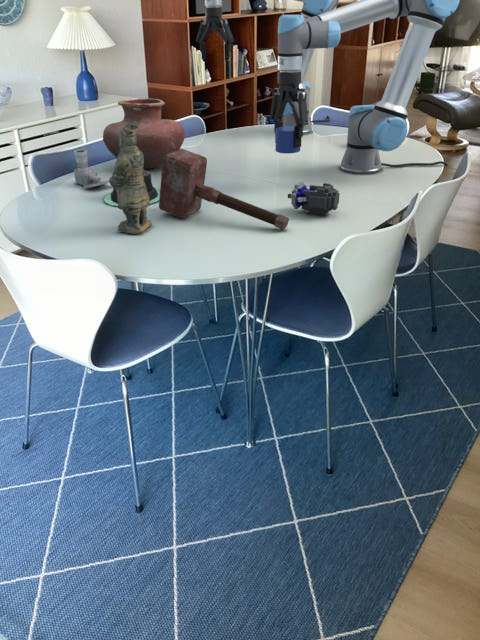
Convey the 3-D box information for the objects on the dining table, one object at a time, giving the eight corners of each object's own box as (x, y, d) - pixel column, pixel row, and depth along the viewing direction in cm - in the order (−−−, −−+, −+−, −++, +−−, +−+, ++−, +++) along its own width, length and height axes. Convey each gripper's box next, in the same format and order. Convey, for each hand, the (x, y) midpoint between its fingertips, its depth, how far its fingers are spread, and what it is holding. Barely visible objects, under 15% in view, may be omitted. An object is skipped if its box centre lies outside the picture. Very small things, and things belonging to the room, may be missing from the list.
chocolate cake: (91, 202, 180) (113, 186, 197) (142, 231, 182) (160, 212, 199) (107, 162, 172) (129, 148, 190) (160, 192, 174) (177, 176, 192)
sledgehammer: (299, 190, 156) (179, 147, 167) (285, 200, 148) (161, 154, 160) (286, 244, 166) (174, 200, 177) (272, 256, 158) (156, 209, 170)
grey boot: (85, 147, 201) (110, 154, 192) (90, 179, 207) (114, 187, 198) (64, 151, 195) (89, 159, 186) (70, 184, 201) (94, 193, 193)
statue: (131, 220, 168) (117, 116, 152) (158, 224, 164) (147, 118, 149) (109, 233, 159) (93, 124, 144) (138, 237, 156) (124, 126, 140)
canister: (285, 154, 181) (285, 132, 178) (270, 150, 187) (270, 128, 184) (305, 150, 185) (306, 128, 182) (290, 146, 191) (290, 124, 188)
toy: (295, 178, 172) (342, 184, 166) (295, 205, 177) (340, 211, 171) (285, 186, 166) (333, 192, 160) (284, 213, 170) (331, 220, 164)
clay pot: (194, 158, 230) (190, 94, 217) (174, 179, 204) (168, 107, 192) (124, 156, 235) (116, 93, 222) (96, 176, 209) (85, 106, 197)
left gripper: (186, 7, 249) (189, 59, 260) (231, 6, 236) (232, 61, 247) (197, 6, 254) (199, 57, 265) (241, 6, 242) (242, 59, 252)
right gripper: (258, 69, 179) (258, 141, 190) (304, 74, 165) (302, 152, 176) (275, 67, 183) (275, 137, 194) (322, 72, 169) (318, 148, 180)
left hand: (215, 59), depth 256 cm, fingers open, 13 cm apart
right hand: (287, 144), depth 185 cm, fingers closed on canister, 8 cm apart
